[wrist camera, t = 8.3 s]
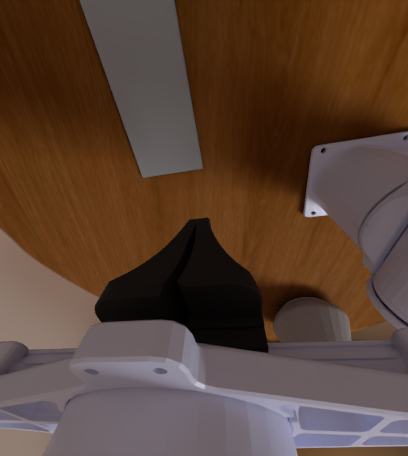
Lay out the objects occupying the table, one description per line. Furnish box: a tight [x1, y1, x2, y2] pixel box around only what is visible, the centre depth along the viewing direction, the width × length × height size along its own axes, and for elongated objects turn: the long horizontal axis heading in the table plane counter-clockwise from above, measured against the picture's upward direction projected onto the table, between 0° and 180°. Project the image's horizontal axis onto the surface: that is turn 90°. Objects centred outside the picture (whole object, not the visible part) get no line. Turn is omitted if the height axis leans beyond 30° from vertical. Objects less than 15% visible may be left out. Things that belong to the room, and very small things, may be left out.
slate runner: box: [80, 0, 203, 178], centre depth 16 cm, size 7×19×1 cm, turn 10°
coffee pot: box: [273, 297, 351, 343], centre depth 27 cm, size 21×12×15 cm, turn 81°
